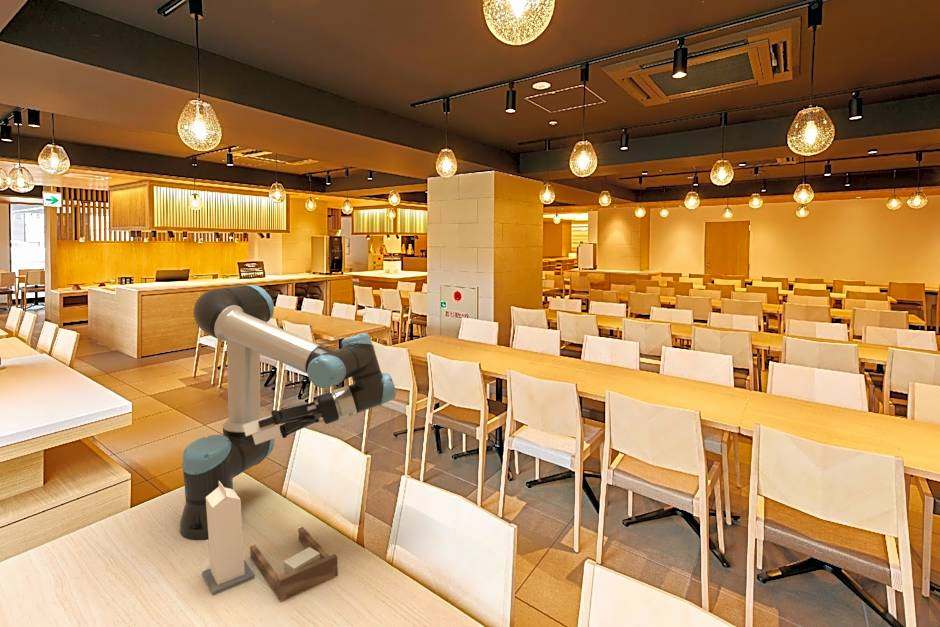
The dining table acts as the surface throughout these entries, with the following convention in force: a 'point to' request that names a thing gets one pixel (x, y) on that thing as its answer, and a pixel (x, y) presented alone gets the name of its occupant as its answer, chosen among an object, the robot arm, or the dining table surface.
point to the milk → (225, 534)
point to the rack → (301, 577)
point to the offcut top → (301, 560)
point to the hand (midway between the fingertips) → (249, 435)
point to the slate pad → (229, 584)
